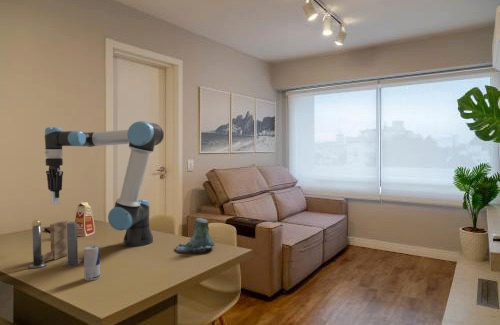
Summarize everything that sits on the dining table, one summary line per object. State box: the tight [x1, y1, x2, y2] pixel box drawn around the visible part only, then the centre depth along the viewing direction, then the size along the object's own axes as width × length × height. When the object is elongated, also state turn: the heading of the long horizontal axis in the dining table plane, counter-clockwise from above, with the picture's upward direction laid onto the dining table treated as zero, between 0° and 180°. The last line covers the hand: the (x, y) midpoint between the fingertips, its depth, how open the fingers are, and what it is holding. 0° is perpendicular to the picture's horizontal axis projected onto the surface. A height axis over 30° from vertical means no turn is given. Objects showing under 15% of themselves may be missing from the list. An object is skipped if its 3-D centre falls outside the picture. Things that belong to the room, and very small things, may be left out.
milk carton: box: [74, 201, 96, 237], centre depth 198 cm, size 9×9×20 cm
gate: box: [42, 220, 69, 263], centre depth 150 cm, size 14×2×16 cm, turn 166°
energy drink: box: [83, 245, 101, 282], centre depth 127 cm, size 5×5×12 cm
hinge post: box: [28, 219, 47, 269], centre depth 141 cm, size 6×6×20 cm
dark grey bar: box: [62, 221, 84, 268], centre depth 144 cm, size 6×6×18 cm
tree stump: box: [174, 217, 216, 254], centre depth 165 cm, size 18×20×18 cm
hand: (55, 203), depth 170 cm, fingers open, 2 cm apart
